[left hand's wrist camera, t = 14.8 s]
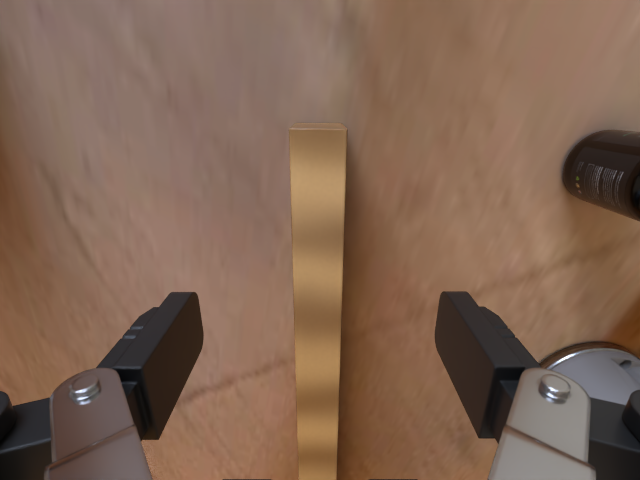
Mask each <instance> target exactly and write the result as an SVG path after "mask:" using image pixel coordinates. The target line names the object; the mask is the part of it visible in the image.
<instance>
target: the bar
mask: <svg viewBox="0 0 640 480" xmlns="http://www.w3.org/2000/svg"><path fill="white" fill-rule="evenodd" d="M289 150H290V186H291V222H292V259H293V295H294V331H295V368H296V404H297V440H298V477H299V480H336V479H337V447H338V415H339V382H340V350H341V318H342V286H343V254H344V221H345V189H346V157H347V128H346V127H345V126H344V125H343V124H342V123H295V124H294V125H293V126H292V127H291V128H289Z"/></svg>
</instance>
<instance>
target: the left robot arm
mask: <svg viewBox="0 0 640 480" xmlns="http://www.w3.org/2000/svg"><path fill="white" fill-rule="evenodd" d="M435 343H436V348H437V351H438V353H439V355H440V357H441V359H442V362H443V364H444V366H445V368H446V370H447V372H448V374H449V376H450V378H451V381H452V383H453V385H454V387H455V389H456V391H457V393H458V395H459V397H460V400H461V402H462V404H463V406H464V408H465V410H466V412H467V414H468V417H469V419H470V421H471V423H472V425H473V427H474V429H475V431H476V433H477V436H478V438H495V439H496V441H497V443H498V447H497V451H496V454H495V457H494V460H493V463H492V467H491V470H490V473H489V476H488V479H487V480H640V390H636V391H634V392H632V393H631V395H630V397H629V399H628V402H627V404H626V405H623V404H618V403H614V402H610V401H605V400H601V399H596V398H592V397H589V395H588V393H587V392H586V391H585V389H584V388H583V387H582V386H581V385H579V384H578V383H577V382H576V381H574V380H573V379H571V378H570V377H568V376H566V375H564V374H562V373H559V372H557V371H554V370H550V369H546V368H542V367H541V366H540V365H539V364H538V363H537V361H536V360H535V359H534V358H533V357H532V355H531V354H530V353H529V352H528V351H527V349H526V348H525V347H524V346H523V345H522V343H521V342H520V341H519V340H518V339H517V338H515V335H514V334H513V333H512V331H511V330H510V329H508V328H507V325H506V324H505V323H504V322H503V321H502V320H501V318H500V317H499V316H498V315H496V314H495V313H493V312H492V311H490V310H489V309H487V308H486V307H479V306H478V305H477V304H476V302H475V301H474V300H473V298H472V297H471V296H470V295H469V293H468V292H442V293H441V295H440V300H439V307H438V314H437V321H436V327H435ZM202 345H203V326H202V320H201V313H200V306H199V299H198V295H197V294H196V293H195V292H171V293H170V294H169V295H168V296H167V298H166V299H165V300H164V301H163V303H162V304H161V305H160V307H153V308H152V309H150V310H149V311H147V312H146V313H144V314H143V315H141V316H139V318H138V319H137V320H136V321H135V322H134V323H133V325H132V326H131V327H130V329H128V331H127V332H126V333H125V334H124V335H123V338H122V339H120V340H119V341H118V342H117V344H116V345H115V346H114V347H113V348H112V350H111V351H110V352H109V353H108V354H107V355H106V357H105V358H104V359H103V360H102V361H101V363H100V364H99V365H98V366H97V367H96V368H94V369H90V370H86V371H83V372H81V373H78V374H76V375H74V376H72V377H70V378H69V379H67V380H66V381H64V382H63V383H62V384H61V385H59V386H58V387H57V388H56V389H55V391H54V392H53V393H52V395H51V397H50V398H46V399H42V400H37V401H33V402H28V403H24V404H20V405H15V406H12V404H11V401H10V399H9V397H8V395H7V394H6V393H4V392H2V391H0V480H153V479H152V476H151V473H150V470H149V467H148V463H147V460H146V457H145V454H144V451H143V447H142V444H141V441H142V440H159V438H160V436H161V434H162V432H163V429H164V427H165V425H166V423H167V421H168V419H169V417H170V415H171V413H172V411H173V409H174V406H175V404H176V402H177V400H178V398H179V396H180V394H181V392H182V390H183V388H184V386H185V383H186V381H187V379H188V377H189V375H190V373H191V371H192V369H193V367H194V365H195V363H196V360H197V358H198V356H199V354H200V352H201V349H202ZM223 480H271V479H223ZM369 480H417V479H369Z"/></svg>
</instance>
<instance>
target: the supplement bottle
mask: <svg viewBox="0 0 640 480" xmlns="http://www.w3.org/2000/svg"><path fill="white" fill-rule="evenodd" d="M563 179H564V183H565V186H566V188H567V189H568V191H569V192H570V193H571V194H572V195H574V196H575V197H577V198H579V199H581V200H584V201H586V202H589V203H591V204H594V205H597V206H600V207H602V208H605V209H608V210H610V211H613V212H616V213H618V214H621V215H624V216H626V217H629V218H632V219H634V220H637V221H640V132H633V131H622V130H604V131H600V132H596V133H594V134H592V135H590V136H588V137H586V138H585V139H583V140H582V141H580V142H579V143H578V144H577V145H576V146H575V147H574V148H573V150H572V151H571V152H570V154H569V155H568V157H567V159H566V162H565V165H564V169H563Z"/></svg>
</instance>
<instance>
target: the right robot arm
mask: <svg viewBox="0 0 640 480" xmlns="http://www.w3.org/2000/svg"><path fill="white" fill-rule="evenodd" d="M539 365H540V366H541V367H542V368H546V369H550V370H554V371H557V372H559V373H562V374H564V375H566V376H568V377H570V378H571V379H573V380H574V381H576V382H577V383H578V384H579V385H581V386H582V387H583V388H584V389H585V391H586V392H587V393H588V395H589V397H592V398H596V399H601V400H605V401H610V402H614V403H618V404H623V405H626V404H627V402H628V399H629V397H630V395H631V393H632V392H634V391H636V390H640V359H639V358H638V357H637V356H635V355H634V354H633V353H632V352H630V351H629V350H627V349H625V348H624V347H621V346H619V345H615V344H611V343H604V342H591V343H583V344H578V345H575V346H571V347H568V348H565V349H563V350H561V351H559V352H557V353H555V354H553V355H551V356H550V357H548V358H546V359H545V360H544V361H542V362H541V363H540V364H539Z"/></svg>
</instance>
